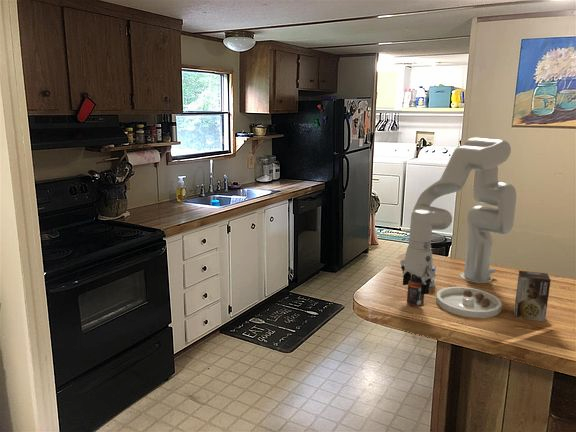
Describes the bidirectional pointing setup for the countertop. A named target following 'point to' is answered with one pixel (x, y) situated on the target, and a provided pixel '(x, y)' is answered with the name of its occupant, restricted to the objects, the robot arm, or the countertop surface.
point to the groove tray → (459, 309)
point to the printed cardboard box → (532, 295)
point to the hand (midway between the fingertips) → (415, 289)
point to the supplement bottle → (415, 292)
